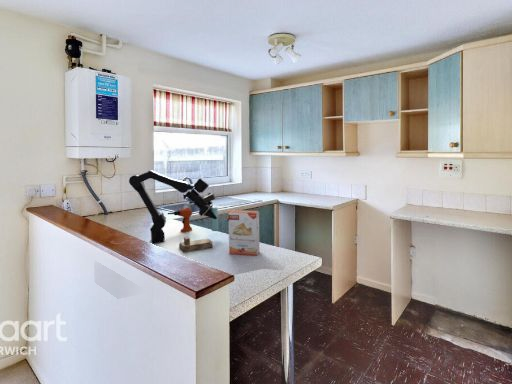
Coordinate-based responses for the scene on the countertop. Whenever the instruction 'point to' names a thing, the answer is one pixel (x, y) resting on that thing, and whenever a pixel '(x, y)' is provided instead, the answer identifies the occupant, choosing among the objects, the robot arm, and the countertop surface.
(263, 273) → the countertop surface
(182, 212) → the toy drill
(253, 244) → the cracker box
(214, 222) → the teal cylinder
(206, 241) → the lid
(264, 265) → the countertop surface
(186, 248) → the wooden frame piece
